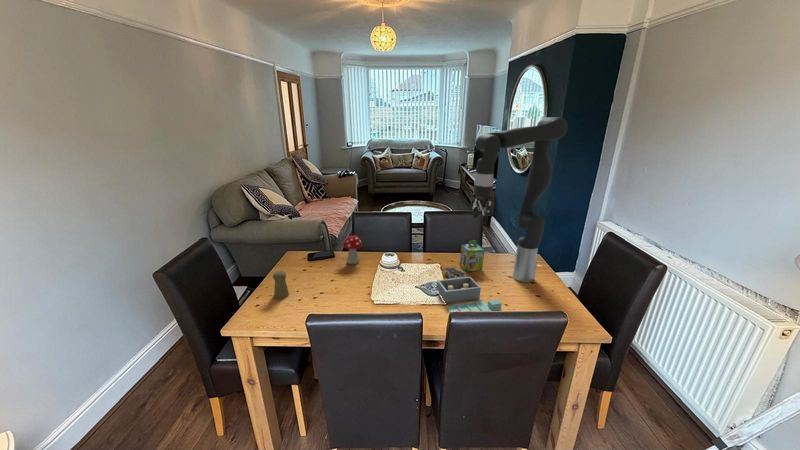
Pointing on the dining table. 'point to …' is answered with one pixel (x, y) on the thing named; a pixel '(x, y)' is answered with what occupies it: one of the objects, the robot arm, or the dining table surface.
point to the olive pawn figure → (280, 285)
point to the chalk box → (471, 256)
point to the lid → (476, 306)
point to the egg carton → (454, 272)
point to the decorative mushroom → (352, 249)
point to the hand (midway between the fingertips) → (479, 220)
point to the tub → (458, 290)
